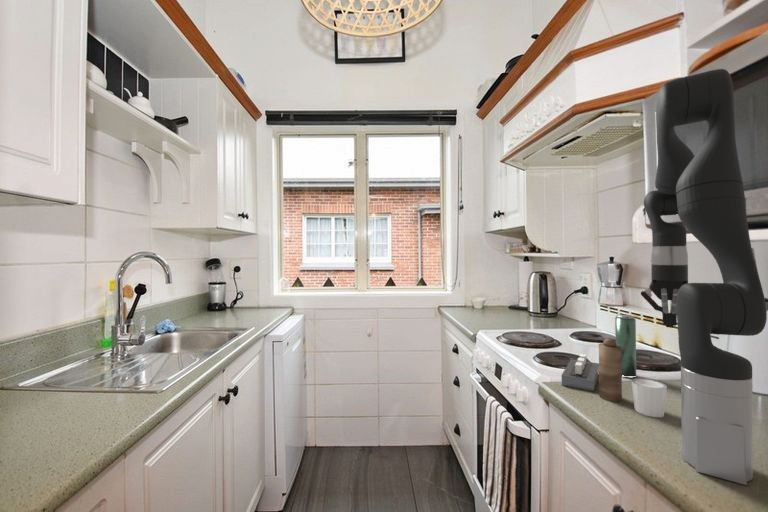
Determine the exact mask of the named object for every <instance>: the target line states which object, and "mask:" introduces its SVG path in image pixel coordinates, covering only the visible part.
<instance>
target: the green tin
mask: <svg viewBox="0 0 768 512" xmlns="http://www.w3.org/2000/svg"><path fill="white" fill-rule="evenodd" d="M615 316H616V317H614V320H615V321H614V322H615V324H614V325H615V328H614V329H615V331H614V332H615V336H614V337H615V341H616V344H617V345H619V346H621V367H622V375H624V376H636V377H637V336H636V335H637V332H636V330H637V329H636V327H637V326H636V324H637V323H636V318H635V316H634V315H632V314H631V315H630V314H616V315H615Z"/></svg>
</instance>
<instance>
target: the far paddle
mask: <svg viewBox="0 0 768 512" xmlns="http://www.w3.org/2000/svg"><path fill="white" fill-rule="evenodd" d="M587 356H588V355H587V353H586V354H585V353H580V354H579V358H585V365H586V363H587V362H588V361H587Z"/></svg>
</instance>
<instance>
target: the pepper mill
mask: <svg viewBox="0 0 768 512" xmlns="http://www.w3.org/2000/svg"><path fill="white" fill-rule="evenodd" d="M598 363H599V375H598V383H599V385H598V387H599V388H598V389H599V390H598V391H599V393H598V394H599V398H600V399H603V400H604V401H608V402H612V403H613V402H614V403H619V402H622V400H623V399H622V398H623V388H622V387H623V386H622V385H623V384H622V383H623V382H622V381H623V380H622V379H623V377H622V367H621V346H619V345H617V344H616V339H614V338H611V337H607V338H605V339H604V340H603V341H602V342H601V343H598Z"/></svg>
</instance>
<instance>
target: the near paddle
mask: <svg viewBox="0 0 768 512" xmlns="http://www.w3.org/2000/svg"><path fill="white" fill-rule="evenodd" d="M582 372H583V363H580V362H576V364H575V373H576V374H582Z"/></svg>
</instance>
